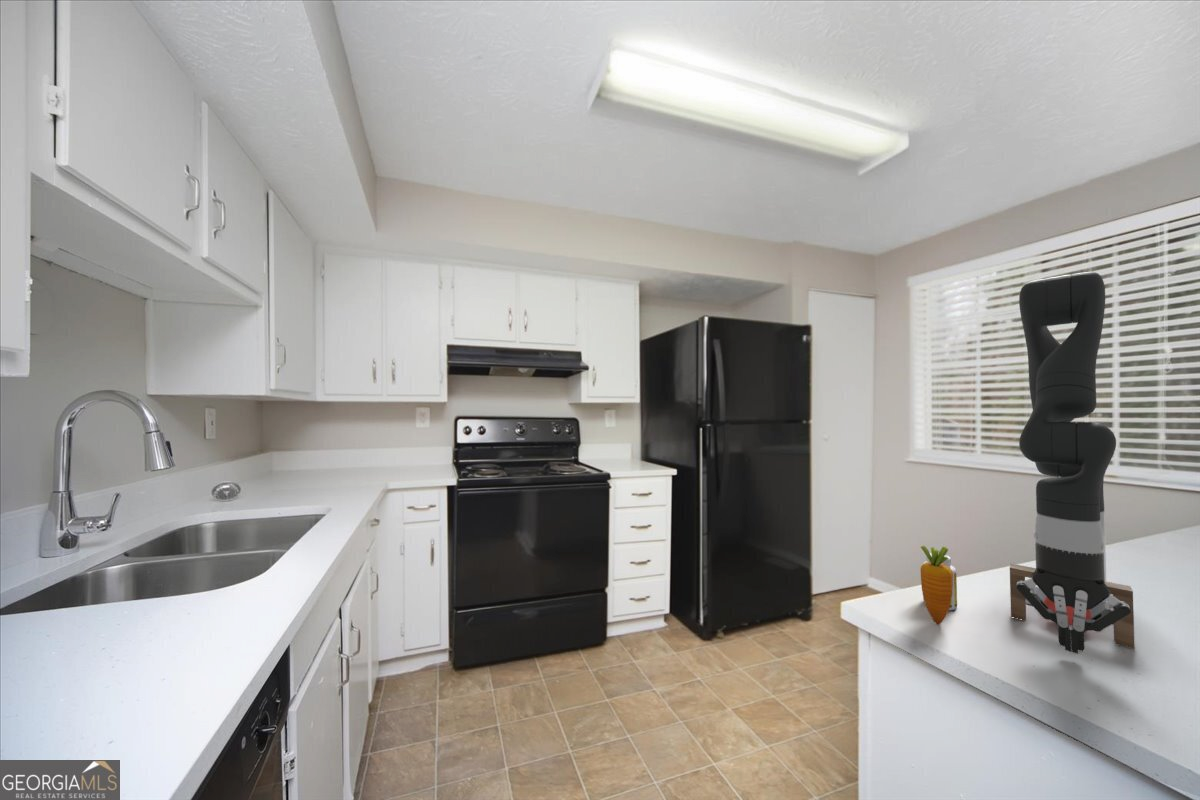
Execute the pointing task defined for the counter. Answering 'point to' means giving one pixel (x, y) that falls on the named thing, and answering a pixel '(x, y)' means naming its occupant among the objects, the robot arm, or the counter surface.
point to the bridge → (1119, 591)
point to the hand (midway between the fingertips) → (1071, 649)
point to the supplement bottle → (954, 591)
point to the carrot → (936, 584)
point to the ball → (1068, 608)
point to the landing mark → (1094, 611)
